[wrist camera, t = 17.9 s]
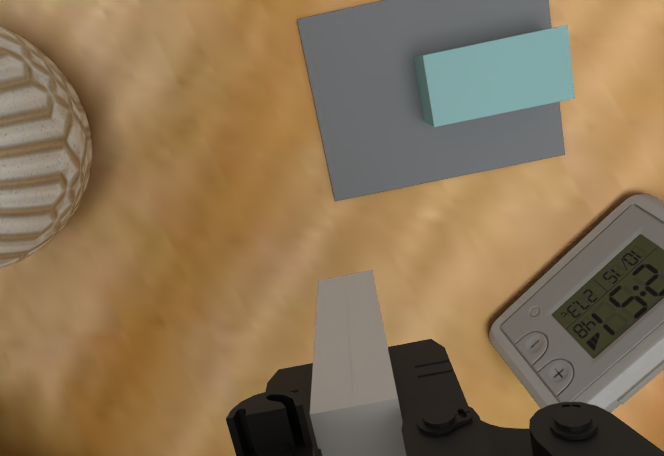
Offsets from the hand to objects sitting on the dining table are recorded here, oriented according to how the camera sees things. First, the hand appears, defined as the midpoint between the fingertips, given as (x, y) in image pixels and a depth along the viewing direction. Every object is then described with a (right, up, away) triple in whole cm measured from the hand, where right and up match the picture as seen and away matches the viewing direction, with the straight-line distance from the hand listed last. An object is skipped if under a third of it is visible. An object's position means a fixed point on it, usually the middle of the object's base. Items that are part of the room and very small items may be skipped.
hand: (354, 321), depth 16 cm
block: (+6, +12, +23) cm, 27 cm away
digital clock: (+18, -2, +30) cm, 35 cm away
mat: (+7, +12, +26) cm, 30 cm away
